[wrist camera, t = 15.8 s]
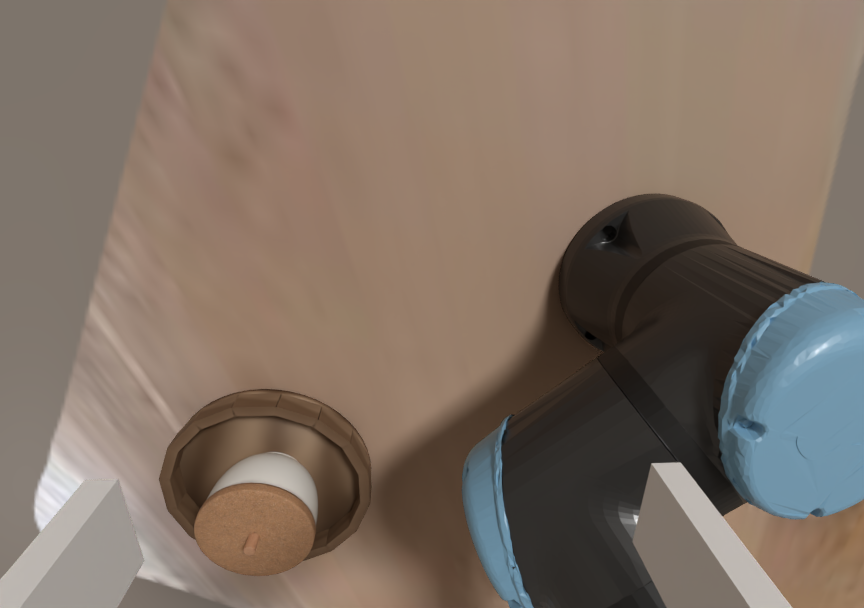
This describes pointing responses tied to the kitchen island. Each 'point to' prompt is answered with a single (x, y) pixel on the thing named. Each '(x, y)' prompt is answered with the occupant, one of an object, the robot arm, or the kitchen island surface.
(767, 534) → the kitchen island surface
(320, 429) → the walnut tray
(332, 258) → the kitchen island surface
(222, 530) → the lidded jar
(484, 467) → the robot arm
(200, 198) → the kitchen island surface
